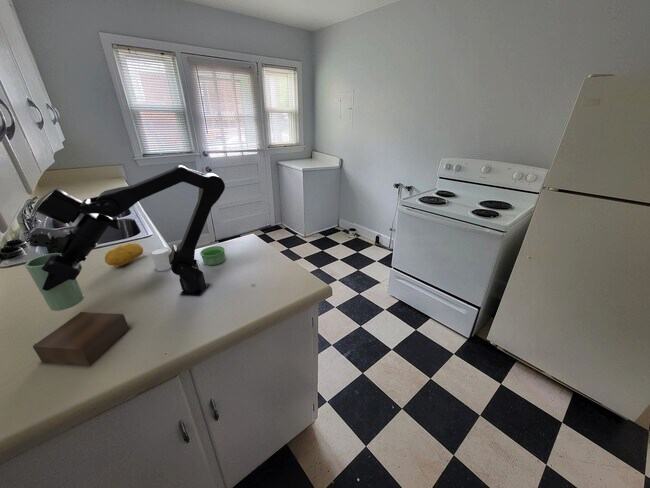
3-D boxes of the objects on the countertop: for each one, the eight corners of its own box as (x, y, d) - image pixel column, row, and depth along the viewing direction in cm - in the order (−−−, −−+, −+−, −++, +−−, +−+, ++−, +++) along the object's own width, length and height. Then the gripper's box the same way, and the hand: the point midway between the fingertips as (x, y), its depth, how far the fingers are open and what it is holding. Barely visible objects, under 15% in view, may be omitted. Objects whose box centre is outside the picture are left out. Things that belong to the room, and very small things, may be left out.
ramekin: (217, 253, 113) (215, 244, 111) (231, 259, 108) (229, 249, 106) (197, 262, 106) (195, 252, 104) (210, 268, 101) (208, 258, 99)
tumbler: (86, 291, 76) (65, 250, 70) (82, 304, 71) (61, 261, 65) (53, 299, 73) (29, 257, 67) (47, 314, 67) (20, 270, 62)
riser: (129, 328, 72) (123, 313, 70) (89, 365, 61) (81, 349, 59) (88, 326, 73) (81, 311, 71) (42, 362, 62) (32, 346, 60)
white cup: (165, 272, 99) (160, 255, 96) (150, 270, 100) (144, 254, 98) (178, 263, 105) (174, 247, 102) (163, 262, 107) (158, 246, 104)
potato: (102, 268, 102) (96, 252, 99) (137, 253, 114) (132, 238, 111) (115, 272, 100) (109, 255, 97) (150, 256, 111) (145, 241, 108)
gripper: (58, 206, 71) (20, 254, 70) (35, 227, 56) (-13, 288, 56) (105, 228, 78) (71, 272, 77) (96, 252, 63) (54, 306, 63)
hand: (49, 282), depth 68 cm, fingers closed on tumbler, 7 cm apart
